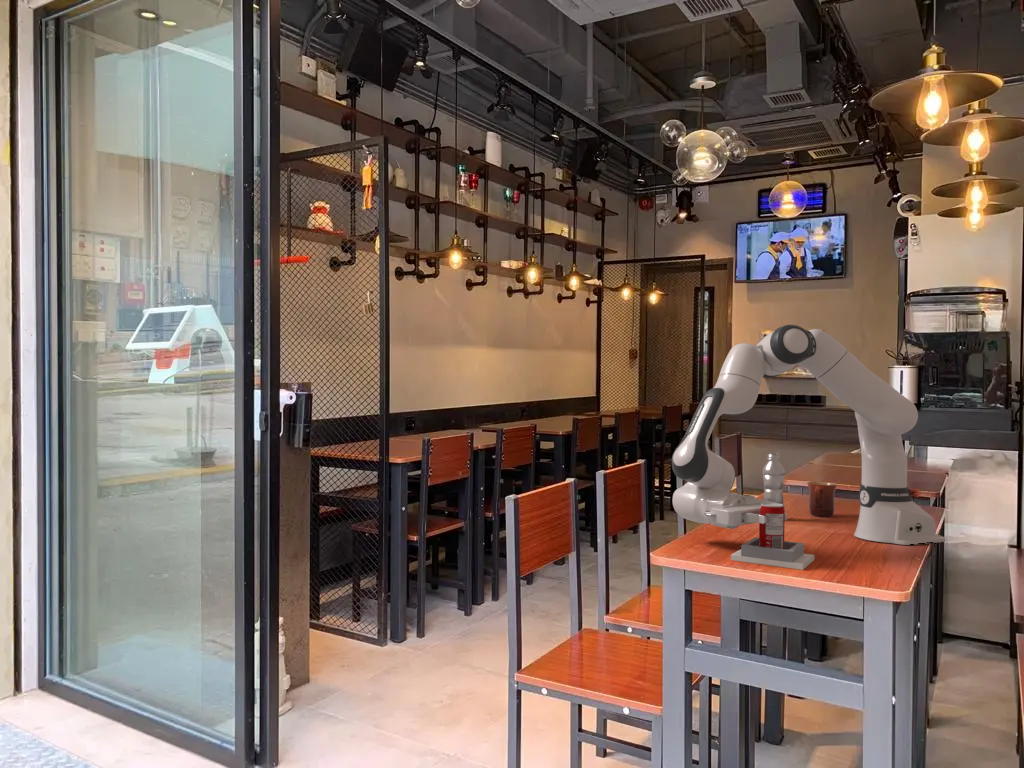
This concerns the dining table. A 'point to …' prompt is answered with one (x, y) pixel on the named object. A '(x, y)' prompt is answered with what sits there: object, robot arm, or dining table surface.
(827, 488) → the mug
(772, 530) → the soda can
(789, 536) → the dining table surface
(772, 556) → the caddy
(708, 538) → the dining table surface
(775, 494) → the plastic bottle
